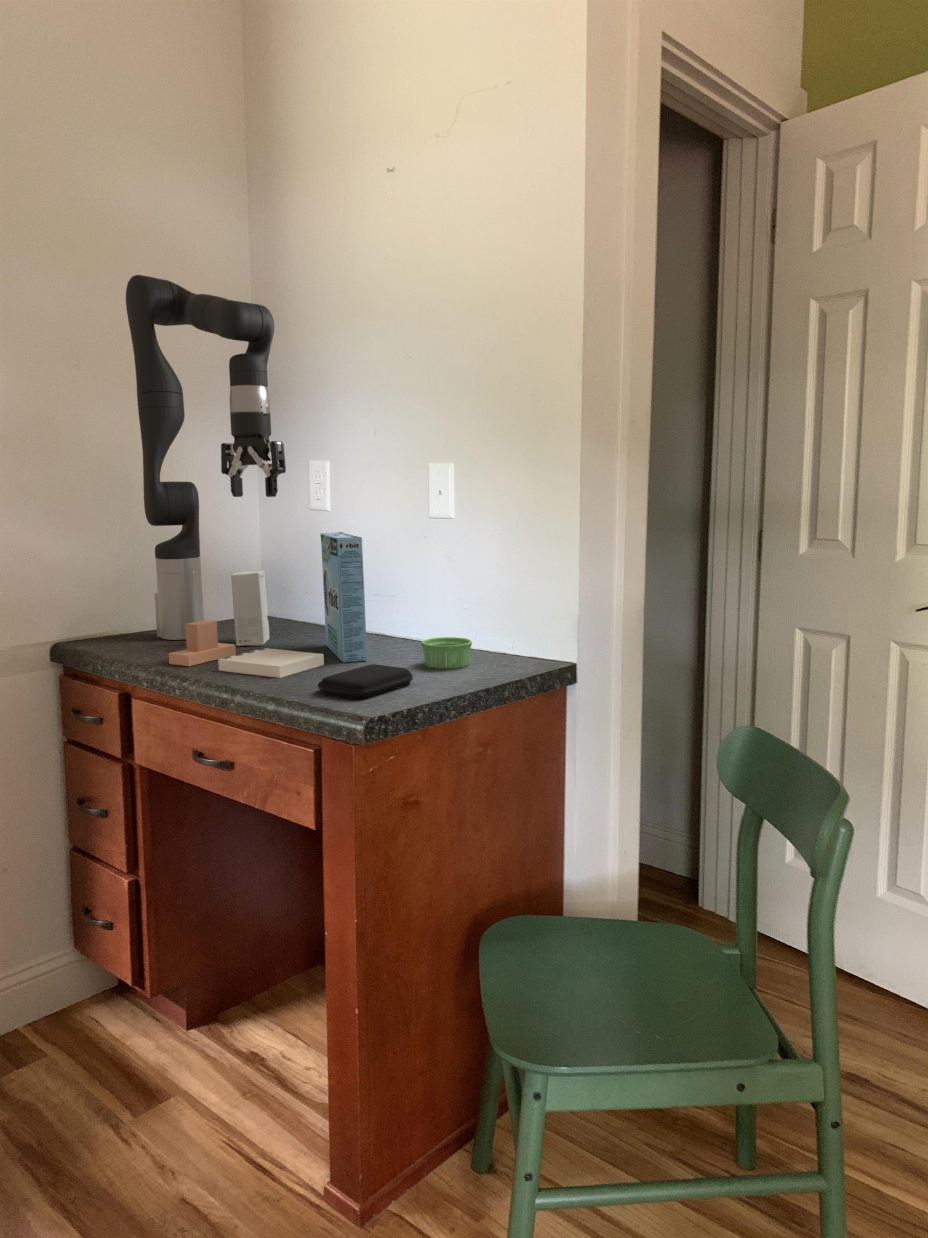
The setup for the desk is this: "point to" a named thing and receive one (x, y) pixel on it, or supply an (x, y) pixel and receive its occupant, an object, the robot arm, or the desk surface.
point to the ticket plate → (271, 662)
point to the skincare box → (250, 608)
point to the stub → (201, 645)
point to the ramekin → (446, 652)
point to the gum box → (344, 596)
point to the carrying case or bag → (365, 681)
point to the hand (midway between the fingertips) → (254, 496)
